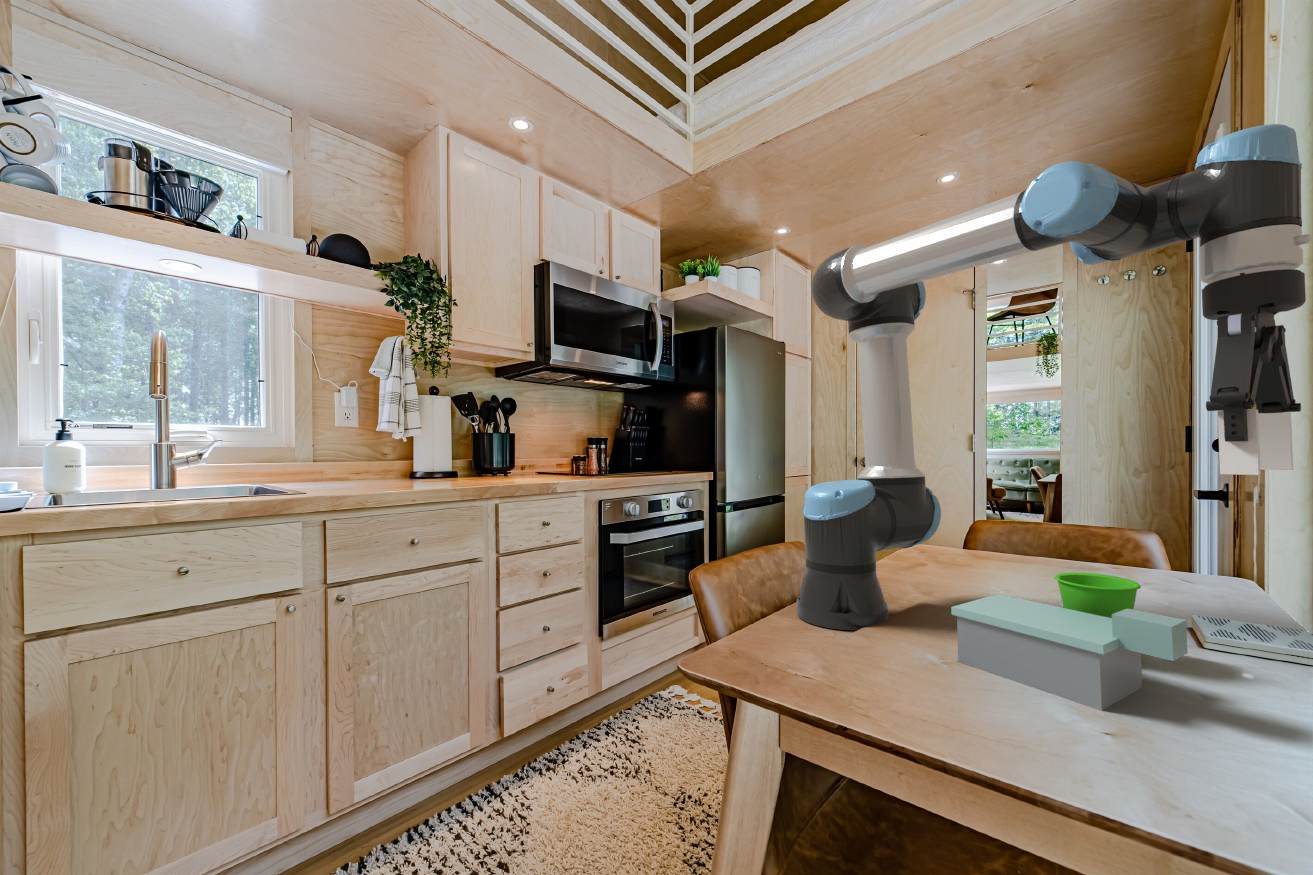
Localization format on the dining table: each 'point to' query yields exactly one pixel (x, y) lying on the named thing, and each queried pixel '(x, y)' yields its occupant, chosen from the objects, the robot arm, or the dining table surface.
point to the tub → (1050, 664)
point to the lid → (1082, 626)
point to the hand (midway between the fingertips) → (1258, 472)
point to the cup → (1096, 593)
